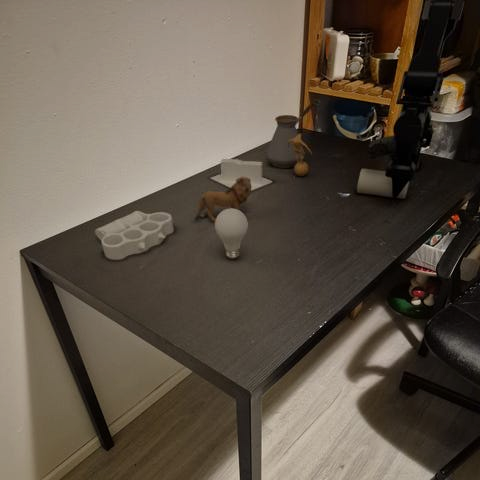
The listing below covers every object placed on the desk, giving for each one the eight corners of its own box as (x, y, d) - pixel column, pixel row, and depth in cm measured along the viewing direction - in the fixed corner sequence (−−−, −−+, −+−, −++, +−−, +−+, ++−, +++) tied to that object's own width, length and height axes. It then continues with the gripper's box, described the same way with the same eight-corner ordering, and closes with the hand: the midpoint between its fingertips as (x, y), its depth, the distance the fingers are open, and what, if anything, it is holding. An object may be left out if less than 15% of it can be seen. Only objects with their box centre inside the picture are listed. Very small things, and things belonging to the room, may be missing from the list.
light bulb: (252, 252, 91) (252, 204, 84) (242, 268, 86) (241, 220, 79) (223, 247, 93) (220, 200, 86) (212, 263, 88) (208, 215, 81)
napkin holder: (273, 181, 118) (274, 161, 114) (243, 194, 113) (243, 173, 109) (238, 167, 127) (237, 147, 123) (209, 178, 121) (207, 158, 117)
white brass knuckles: (147, 215, 105) (186, 233, 98) (84, 244, 95) (123, 268, 88) (144, 202, 103) (185, 220, 96) (80, 231, 93) (120, 254, 86)
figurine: (316, 177, 119) (320, 133, 112) (304, 184, 116) (307, 139, 108) (293, 169, 124) (295, 127, 116) (280, 176, 121) (282, 132, 113)
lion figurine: (247, 206, 107) (247, 171, 101) (255, 215, 103) (255, 180, 97) (192, 217, 104) (188, 182, 98) (197, 227, 100) (194, 191, 94)
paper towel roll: (359, 187, 114) (363, 165, 110) (406, 193, 110) (411, 170, 106) (355, 196, 109) (359, 173, 105) (404, 202, 106) (409, 179, 102)
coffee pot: (288, 173, 122) (291, 118, 112) (258, 164, 128) (258, 111, 118) (328, 152, 133) (334, 100, 124) (299, 144, 139) (302, 95, 129)
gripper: (380, 113, 106) (369, 174, 117) (368, 137, 93) (357, 203, 104) (426, 117, 103) (411, 179, 113) (421, 142, 90) (405, 209, 101)
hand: (395, 191), depth 108 cm, fingers closed on paper towel roll, 6 cm apart
